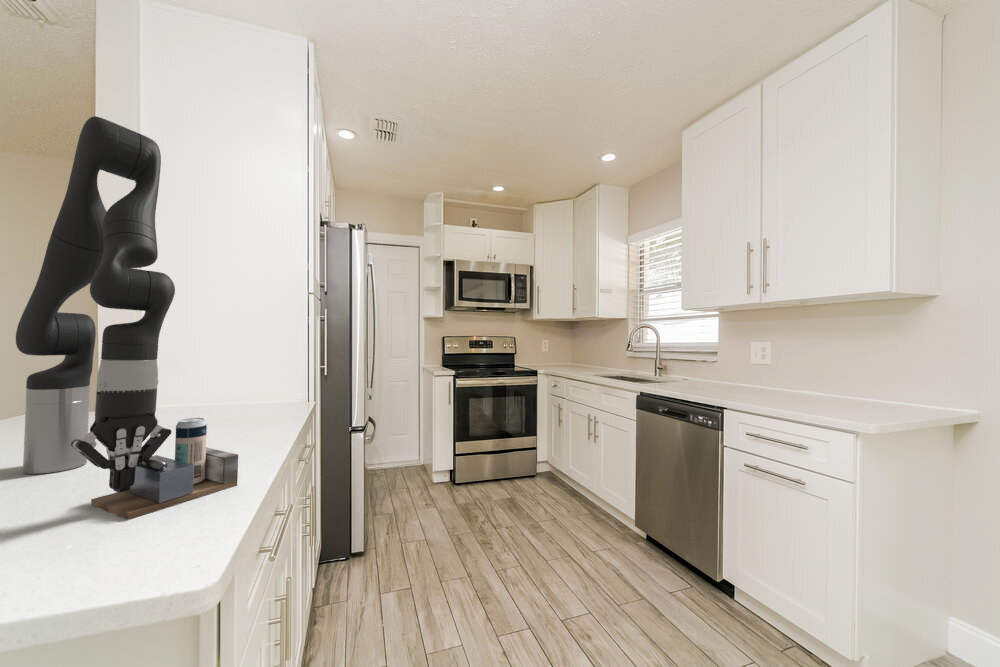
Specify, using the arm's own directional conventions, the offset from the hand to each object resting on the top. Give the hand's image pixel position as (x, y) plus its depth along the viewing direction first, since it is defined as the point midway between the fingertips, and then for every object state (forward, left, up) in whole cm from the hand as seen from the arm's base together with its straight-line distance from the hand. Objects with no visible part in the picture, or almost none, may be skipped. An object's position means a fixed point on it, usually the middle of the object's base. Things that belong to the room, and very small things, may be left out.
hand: (121, 490), depth 67 cm
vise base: (0, +7, -3) cm, 8 cm away
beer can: (0, +10, -2) cm, 10 cm away
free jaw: (0, +5, -2) cm, 6 cm away
